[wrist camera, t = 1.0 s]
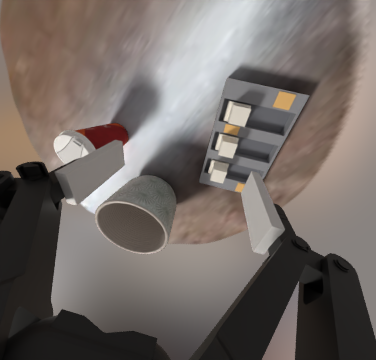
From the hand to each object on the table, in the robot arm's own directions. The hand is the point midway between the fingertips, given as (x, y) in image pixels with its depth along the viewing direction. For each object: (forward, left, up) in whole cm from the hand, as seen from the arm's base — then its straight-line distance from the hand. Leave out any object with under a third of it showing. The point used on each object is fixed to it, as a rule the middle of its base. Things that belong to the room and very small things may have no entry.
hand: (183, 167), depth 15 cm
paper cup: (+7, -20, -22) cm, 30 cm away
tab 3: (+8, +6, -20) cm, 22 cm away
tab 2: (+2, +6, -20) cm, 21 cm away
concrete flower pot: (+22, -9, -22) cm, 32 cm away
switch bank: (+2, +10, -21) cm, 23 cm away
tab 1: (-4, +6, -20) cm, 21 cm away
